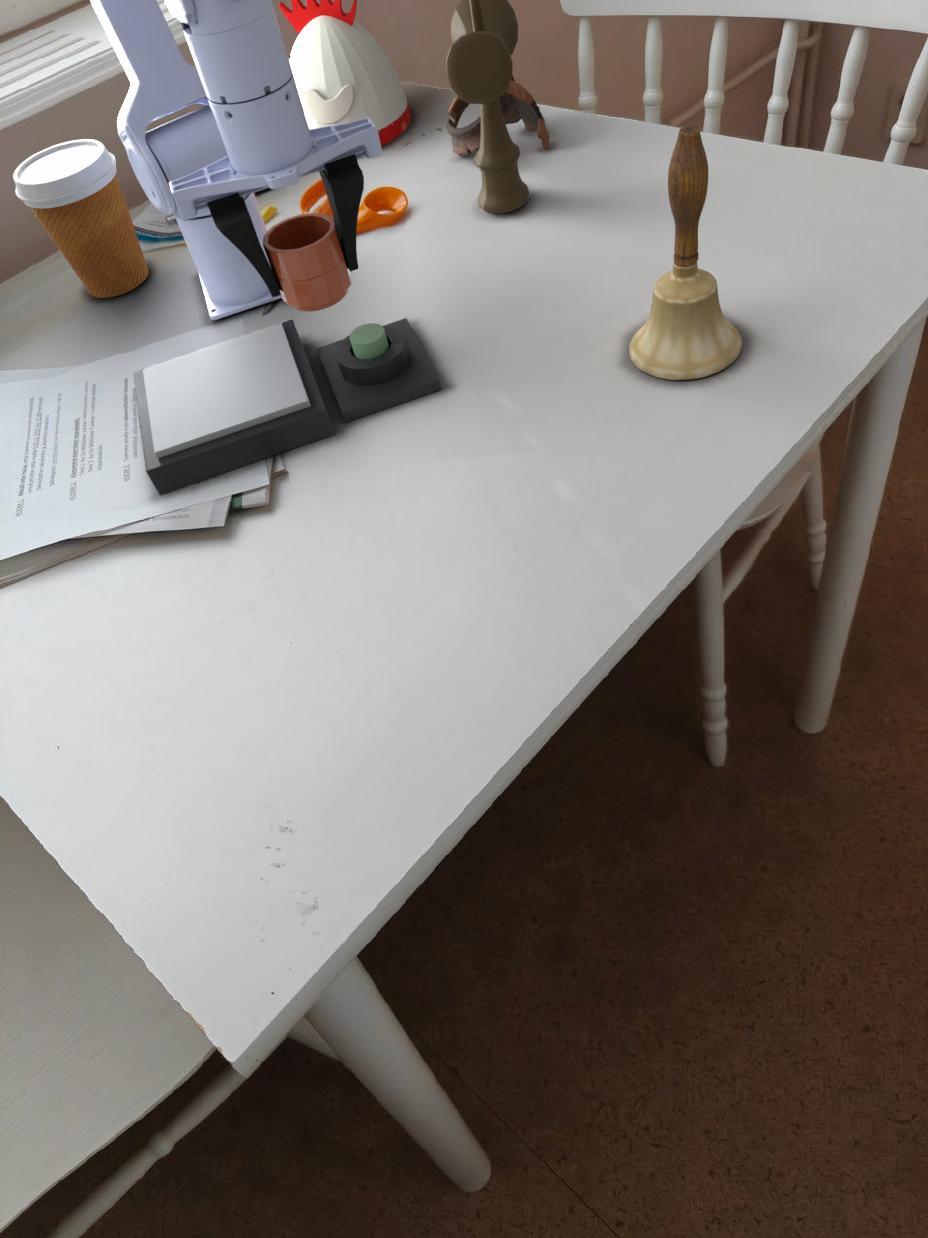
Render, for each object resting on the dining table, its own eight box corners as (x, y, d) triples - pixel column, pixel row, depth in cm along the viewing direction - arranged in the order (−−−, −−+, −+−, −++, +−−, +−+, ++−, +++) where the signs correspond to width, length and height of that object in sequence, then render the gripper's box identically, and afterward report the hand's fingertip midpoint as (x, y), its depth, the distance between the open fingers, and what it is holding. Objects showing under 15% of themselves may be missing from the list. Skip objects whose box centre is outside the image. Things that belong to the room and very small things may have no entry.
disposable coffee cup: (84, 319, 89) (17, 198, 80) (65, 280, 95) (0, 163, 86) (175, 280, 91) (119, 157, 82) (151, 245, 97) (96, 126, 88)
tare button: (351, 346, 74) (346, 330, 73) (384, 335, 74) (379, 318, 73) (359, 364, 72) (353, 347, 71) (392, 353, 73) (388, 336, 71)
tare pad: (319, 356, 78) (310, 331, 76) (408, 326, 79) (402, 300, 77) (344, 423, 72) (336, 396, 70) (442, 389, 72) (436, 362, 70)
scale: (145, 395, 79) (129, 365, 77) (301, 342, 80) (290, 312, 78) (159, 495, 70) (142, 465, 68) (335, 434, 71) (324, 402, 69)
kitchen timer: (307, 112, 113) (265, -31, 101) (417, 96, 110) (387, -54, 99) (282, 166, 104) (234, 16, 93) (401, 149, 101) (366, -8, 90)
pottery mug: (558, 165, 93) (510, 105, 88) (482, 211, 99) (433, 157, 93) (554, 85, 99) (510, 23, 93) (483, 133, 104) (436, 77, 98)
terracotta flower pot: (278, 289, 72) (256, 228, 69) (345, 266, 73) (326, 205, 69) (291, 322, 69) (269, 260, 65) (361, 298, 69) (343, 235, 66)
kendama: (536, 176, 92) (508, -64, 77) (534, 225, 86) (504, -25, 71) (476, 184, 93) (437, -51, 78) (471, 233, 87) (427, -11, 72)
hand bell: (648, 311, 74) (643, 100, 62) (754, 321, 71) (770, 100, 59) (614, 374, 69) (601, 160, 57) (725, 388, 66) (735, 164, 54)
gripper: (147, 141, 56) (228, 334, 67) (371, 69, 58) (417, 270, 68) (137, 103, 61) (215, 289, 71) (345, 37, 62) (392, 229, 72)
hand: (312, 277), depth 70 cm, fingers closed on terracotta flower pot, 5 cm apart
